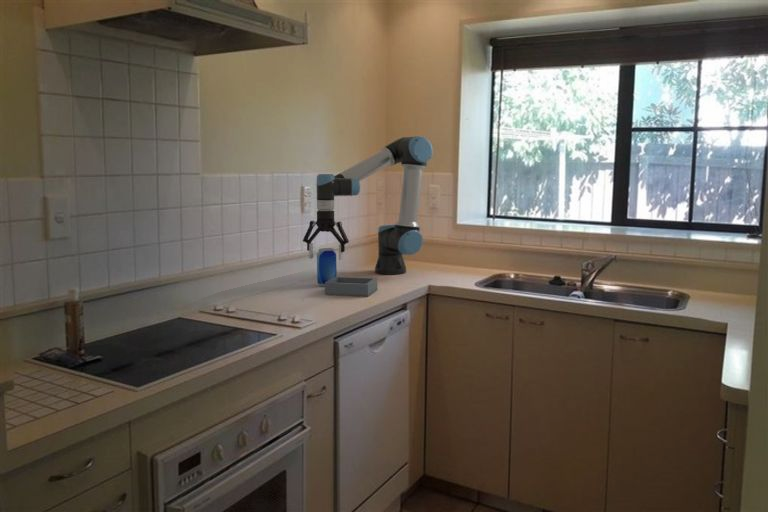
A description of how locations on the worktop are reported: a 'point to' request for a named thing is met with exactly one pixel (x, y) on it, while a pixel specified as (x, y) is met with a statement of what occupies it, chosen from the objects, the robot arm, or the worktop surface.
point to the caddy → (351, 286)
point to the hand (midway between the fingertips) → (325, 259)
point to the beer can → (326, 265)
